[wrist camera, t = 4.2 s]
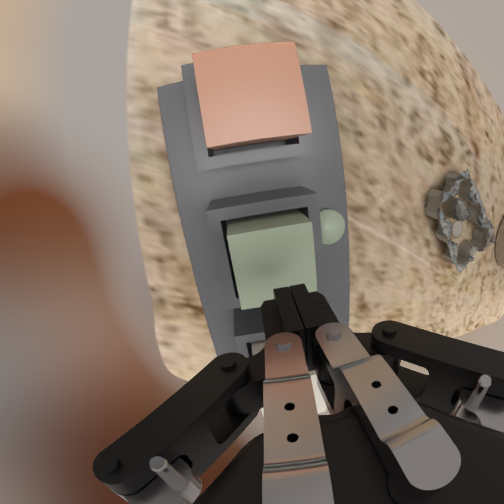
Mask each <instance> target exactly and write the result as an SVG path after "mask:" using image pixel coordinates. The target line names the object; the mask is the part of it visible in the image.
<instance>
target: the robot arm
mask: <svg viewBox="0 0 504 504" xmlns="http://www.w3.org/2000/svg"><path fill="white" fill-rule="evenodd" d="M495 255H496V260H497V263H498V264H499V265H500V266H501V267H503V268H504V218H503V220H502V222H501V225H500V228H499V231H498V235H497V239H496V248H495ZM273 293H274V299H272V300H266V301H264V302H263V304H262V305H261V307H260V308H261V314H262V320H263V327H264V333H265V339H266V342H265V346H264V348H263V349H262V350H261V351H260V352H258V353H257V354H255V355H253V356H251V357H248V358H246V357H245V356H244V355H242V354H240V353H235V352H231V353H225V354H222V355H219V356H218V357H216V358H215V359H214V360H212V361H211V362H210V363H209V364H208V365H207V366H206V367H205V368H203V369H202V370H201V371H200V372H199V373H198V374H197V375H195V376H194V377H193V378H192V379H191V380H190V381H189V382H187V383H186V384H185V385H184V386H183V387H182V388H181V389H180V390H178V391H177V392H176V393H175V394H173V395H172V396H171V397H170V398H169V399H167V400H166V401H165V402H164V403H163V404H162V405H160V406H159V407H158V408H157V409H155V410H154V411H153V412H152V413H151V414H149V415H148V416H147V417H146V418H144V419H143V420H142V421H141V422H139V423H138V424H137V425H136V426H134V427H133V428H132V429H130V430H129V431H128V432H127V433H126V434H124V435H123V436H121V437H120V438H119V439H118V440H116V441H115V442H114V443H112V444H111V445H110V446H108V447H107V448H106V449H104V450H103V451H102V452H100V453H99V454H98V455H97V457H96V458H95V460H94V462H93V471H94V474H95V476H96V477H97V478H98V479H99V480H100V481H101V482H102V483H104V484H105V485H107V486H108V487H109V488H110V489H111V490H112V491H113V492H115V493H116V494H117V495H119V496H120V497H122V498H123V499H125V500H127V501H128V502H129V503H130V504H504V352H501V351H497V350H494V349H490V348H486V347H483V346H479V345H475V344H472V343H468V342H465V341H461V340H457V339H454V338H450V337H447V336H443V335H440V334H437V333H433V332H430V331H426V330H423V329H419V328H416V327H413V326H409V325H406V324H403V323H399V322H396V321H382V322H379V323H377V324H376V325H375V326H374V327H373V329H372V333H354V332H352V331H351V329H350V328H349V327H348V326H347V325H345V324H342V323H340V322H339V321H338V319H337V317H336V315H335V314H334V312H333V310H332V309H331V307H330V305H329V303H328V302H327V300H326V298H325V297H324V295H322V294H321V293H319V292H317V291H314V292H308V290H307V288H306V286H305V284H304V283H303V284H297V285H292V286H289V287H288V286H287V287H281V288H275V289H273ZM401 360H404V361H407V362H410V363H413V364H416V365H418V366H421V367H424V368H426V369H427V370H428V372H429V375H425V374H422V373H419V372H416V371H413V370H410V369H407V368H404V367H402V366H400V362H401ZM307 368H308V370H307ZM313 370H315V372H316V375H317V385H318V388H319V390H320V392H321V394H322V397H323V399H324V401H325V403H326V406H327V408H328V410H329V412H330V415H318V412H317V407H316V402H315V396H314V391H313V386H312V381H311V377H310V374H308V371H313ZM260 408H263V410H264V433H262V434H260V435H258V436H257V437H255V438H254V439H253V440H251V441H250V442H248V443H247V444H246V445H245V446H244V447H243V448H242V449H241V450H240V451H239V453H238V454H237V455H236V456H235V457H234V459H233V460H232V461H231V462H230V463H229V465H228V466H227V467H226V468H225V469H224V470H223V471H222V473H221V474H220V475H219V476H218V477H217V478H216V479H215V481H214V482H213V483H212V484H211V485H210V486H209V487H208V488H207V489H206V490H205V491H204V492H203V493H202V494H201V495H200V496H199V497H198V498H197V496H198V495H199V493H200V492H201V489H202V484H201V481H200V479H199V477H200V476H201V475H202V474H203V473H204V472H205V471H206V470H207V469H208V468H209V467H210V466H211V465H212V464H213V463H214V462H215V461H216V460H217V459H218V458H219V457H220V456H221V455H222V454H223V453H224V451H226V450H227V448H228V447H229V446H230V445H231V444H232V443H233V442H234V441H235V440H236V439H237V438H238V436H239V435H240V434H241V433H242V432H243V431H244V430H245V428H246V427H247V426H248V425H249V424H250V423H251V422H252V420H253V419H254V418H255V417H256V416H257V414H258V412H259V409H260ZM196 498H197V499H196ZM195 499H196V501H195ZM194 501H195V502H194Z"/></svg>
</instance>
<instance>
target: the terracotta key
mask: <svg viewBox="0 0 504 504" xmlns="http://www.w3.org/2000/svg"><path fill="white" fill-rule="evenodd" d="M192 57H193V64H194V71H195V77H196V84H197V90H198V97H199V103H200V109H201V115H202V121H203V127H204V133H205V139H206V145H207V148H209V149H213V150H221V149H226V148H232V147H238V146H244V145H250V144H257V143H264V142H272V141H280V140H288V139H292V138H295V137H299V136H303V135H306V134H310V133H312V130H311V124H310V118H309V112H308V106H307V100H306V95H305V89H304V84H303V79H302V74H301V69H300V64H299V60H298V55H297V51H296V46H295V42H294V41H293V42H271V43H258V44H248V45H240V46H232V47H225V48H219V49H213V50H207V51H202V52H197V53H192Z"/></svg>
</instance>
